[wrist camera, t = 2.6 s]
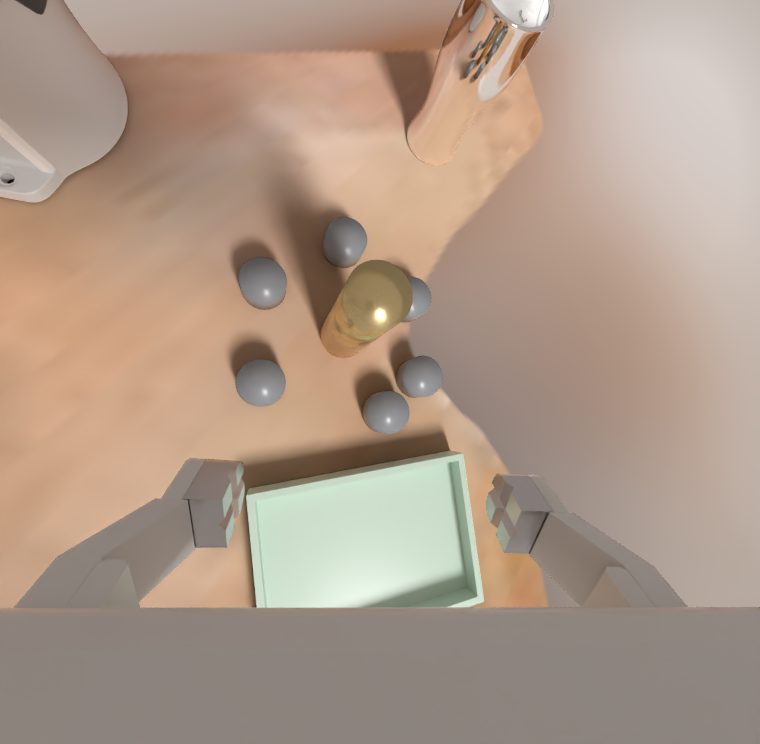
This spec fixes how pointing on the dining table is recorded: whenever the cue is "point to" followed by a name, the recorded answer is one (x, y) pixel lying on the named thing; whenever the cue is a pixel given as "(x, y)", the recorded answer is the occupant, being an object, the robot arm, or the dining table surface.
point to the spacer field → (268, 289)
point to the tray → (367, 537)
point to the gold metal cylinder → (366, 308)
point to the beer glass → (474, 70)
